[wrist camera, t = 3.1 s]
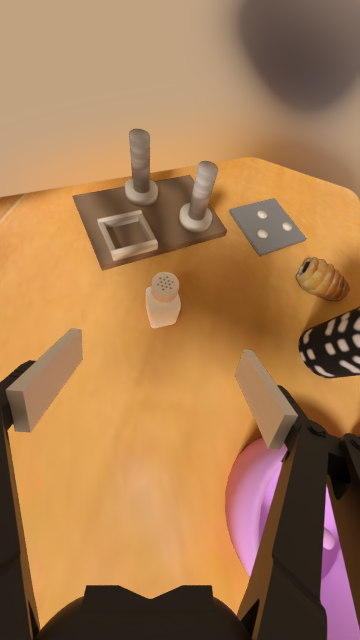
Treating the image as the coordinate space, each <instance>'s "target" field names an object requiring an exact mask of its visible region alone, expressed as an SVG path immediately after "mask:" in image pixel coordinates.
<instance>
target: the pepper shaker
mask: <svg viewBox="0 0 360 640" xmlns="http://www.w3.org/2000/svg"><path fill="white" fill-rule="evenodd" d="M178 290H179V281H178V279H177V277H176V276H175V275H173V274H171V273H170V272H160V273H158V274H155V276H154V277H153V278H152V281H151V286H149V287H148V288H147V289H146V309H147V313H148V317H149V321H150V325H151V327H152V328H159V327H163V326H168V325H172V324H174V323H176V321H177V318H178V315H179V312H180V309H181V302H180V298H179V295H178Z"/></svg>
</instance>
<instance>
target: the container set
mask: <svg viewBox="0 0 360 640" xmlns="http://www.w3.org/2000/svg"><path fill="white" fill-rule="evenodd" d="M286 451H287V447H286V445H285V443H284V444H283V446H282V447H281V449H280V450H277V449H268V448H267V446H266V443H265V441H264V439H263V437H262V438H259V439H256V440H255V441H253V442H252V443H250V444H249V445H247V447H246V448H245V449H244V450H243V451H242V452H241V453H240V454H239V456H238V458H237V459H236V461H235V463H234V464H233V467H232V469H231V472H230V475H229V477H228V482H227V487H226V494H225V512H226V521H227V527H228V531H229V534H230V538H231V542H232V544H233V546H234V548H235V551H236V553H237V555H238V557H239V559H240V561H241V563H242V565H243V566H244V568H245V570H246V572H247V574H248V575H249V577H250V576H251V573H252V569H253V566H254V562H255V559H256V555H257V552H258V548H259V545H260V541H261V538H262V534H263V531H264V527H265V523H266V520H267V516H268V513H269V509H270V506H271V502H272V499H273V495H274V492H275V488H276V485H277V481H278V478H279V474H280V471H281V467H282V464H283V463H282V462H281V460H282V459H283V457H284V455H285V453H286ZM320 600H321V604H322V605H323V607H324V608H325V609H326V614H327V640H360V630H359V625H358V621H357V616H356V612H355V608H354V603H353V599H352V594H351V590H350V586H349V581H348V577H347V572H346V568H345V564H344V559H343V555H342V550H341V546H340V542H339V537H338V533H337V528H336V524H335V520H334V515H333V511H332V506H331V502H330V498H329V493H328V489H327V485H326V503H325V520H324V537H323V555H322V572H321V590H320Z"/></svg>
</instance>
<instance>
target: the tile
mask: <svg viewBox="0 0 360 640" xmlns="http://www.w3.org/2000/svg"><path fill="white" fill-rule="evenodd" d="M229 213H230V214H231V216H232V217H233V218H234V220H235V221H236V223H237V224H238V226H239V227H240V229H241V230H242V231H243V233H244V234H245V236H246V237H247V239H248V240H249V242H250V243H251V244H252V246H253V247H254V249H255V250H256V252H257V253H258V255H259V256H262V255H265V254H267V253H270V252H273V251H276V250H279V249H282V248H285V247H288V246H291V245H294V244H297V243H300V242H303V241H305V240H306V239H307V238H306V237H305V236H304V235H303V233H302V232H301V231H300V230H299V228H298V227H297V226H296V225H295V223H294V222H293V221H292V220H291V218H290V217H289V216H288V215H287V213H286V212H285V211H284V210H283V208H282V207H281V206H280V205H279V203H278V202H277V201H276V200H275V198H274V199H270V200H265V201H261V202H257V203H253V204H249V205H245V206H241V207H237V208H233V209H230V210H229Z"/></svg>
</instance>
